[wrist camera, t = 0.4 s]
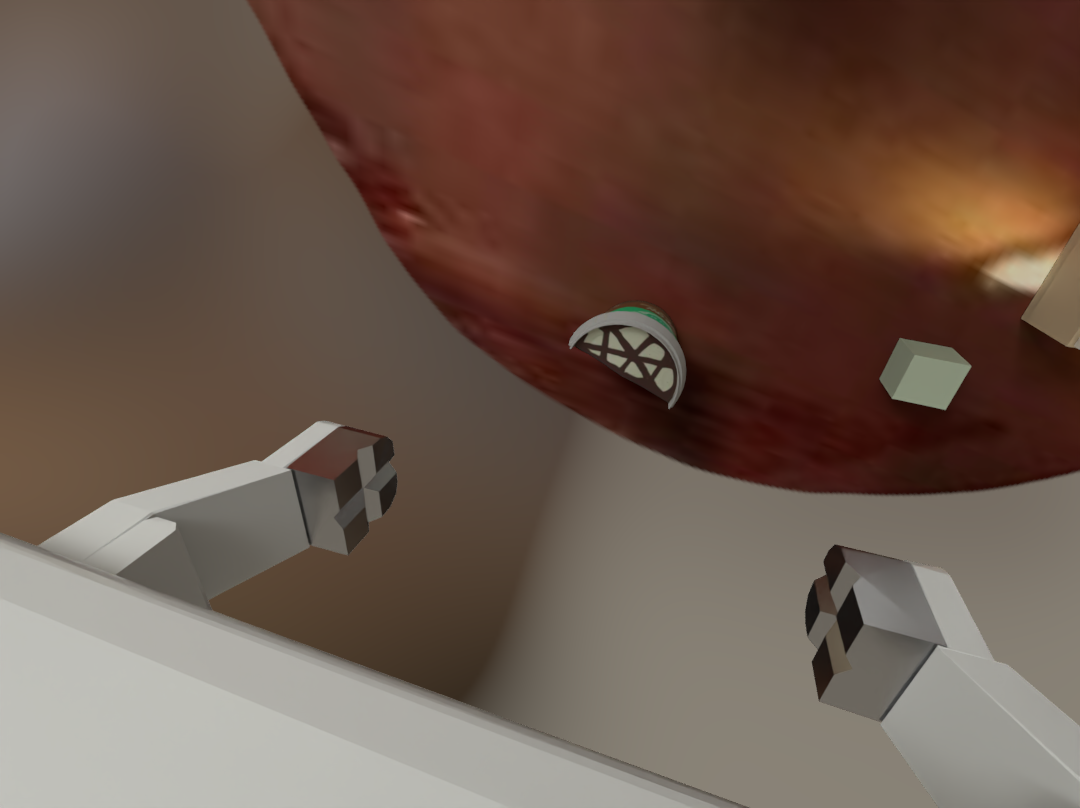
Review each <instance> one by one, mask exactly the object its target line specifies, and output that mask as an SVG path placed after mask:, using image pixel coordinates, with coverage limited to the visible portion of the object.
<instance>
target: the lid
mask: <svg viewBox="0 0 1080 808" xmlns="http://www.w3.org/2000/svg"><path fill="white" fill-rule="evenodd" d="M1074 347H1076V348H1078V349H1079V350H1080V337H1079V339H1078V340H1077V342H1076V343H1075V345H1074Z"/></svg>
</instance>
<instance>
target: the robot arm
mask: <svg viewBox="0 0 1080 808" xmlns="http://www.w3.org/2000/svg"><path fill="white" fill-rule="evenodd" d="M393 456H394V449H393V442H392V440H390V439H389V438H388V437H386V436H382V435H379V434H375V433H371V432H367V431H364V430H360V429H356V428H352V427H349V426H343V425H340V424H336V423H332V422H328V421H320V422H316V423H315V424H314V425H312V426H311V427H310V428H308V429H307V430H305V431H304V432H302V433H301V434H300V435H298V436H297V437H295V438H294V439H293V440H291V441H290V442H289V443H287V444H286V445H284V446H283V447H282V448H280V449H279V450H278V451H276V452H275V453H273V454H272V455H270V456H269V457H268V458H266V459H265V460H263V461H262V462H260V461H256V460H254V461H251V462H247V463H243V464H240V465H236V466H232V467H229V468H225V469H222V470H219V471H215V472H211V473H207V474H204V475H200V476H197V477H193V478H190V479H186V480H182V481H179V482H176V483H172V484H168V485H165V486H161V487H158V488H154V489H150V490H147V491H143V492H140V493H136V494H132V495H129V496H125V497H122V498H118V499H115V500H112V501H110V502H109V503H107V504H105V505H104V506H102V507H100V508H99V509H97V510H95V511H94V512H92V513H91V514H89V515H87V516H86V517H84V518H82V519H81V520H79V521H78V522H76V523H74V524H73V525H71V526H69V527H68V528H66V529H64V530H63V531H61V532H59V533H58V534H56V535H55V536H53V537H51V538H50V539H48V540H46V541H45V542H43V543H42V544H40V545H38V546H35V545H32V544H30V543H27V542H24V541H22V540H19V539H16V538H13V537H11V536H8V535H5V534H3V533H0V808H749V807H746V806H743V805H741V804H738V803H735V802H732V801H729V800H727V799H724V798H721V797H719V796H716V795H713V794H711V793H708V792H705V791H702V790H700V789H697V788H694V787H691V786H689V785H686V784H683V783H680V782H677V781H675V780H672V779H669V778H667V777H664V776H661V775H659V774H656V773H653V772H651V771H648V770H645V769H642V768H640V767H637V766H634V765H631V764H629V763H626V762H623V761H620V760H618V759H615V758H612V757H609V756H606V755H604V754H601V753H599V752H596V751H593V750H590V749H587V748H585V747H582V746H580V745H577V744H574V743H571V742H569V741H566V740H563V739H560V738H558V737H555V736H552V735H549V734H547V733H544V732H541V731H539V730H536V729H533V728H530V727H528V726H525V725H522V724H519V723H517V722H514V721H511V720H509V719H506V718H503V717H500V716H498V715H495V714H492V713H490V712H487V711H484V710H481V709H479V708H476V707H473V706H470V705H468V704H465V703H462V702H459V701H457V700H454V699H451V698H449V697H446V696H443V695H441V694H438V693H435V692H432V691H430V690H427V689H424V688H421V687H419V686H416V685H413V684H411V683H408V682H405V681H402V680H400V679H397V678H394V677H392V676H388V675H386V674H383V673H381V672H378V671H375V670H372V669H370V668H367V667H364V666H362V665H359V664H356V663H353V662H351V661H348V660H345V659H343V658H340V657H337V656H334V655H332V654H329V653H326V652H323V651H321V650H318V649H315V648H313V647H310V646H307V645H304V644H302V643H299V642H296V641H294V640H290V639H288V638H285V637H283V636H280V635H277V634H274V633H272V632H269V631H266V630H264V629H261V628H258V627H255V626H253V625H250V624H247V623H245V622H242V621H239V620H236V619H234V618H231V617H228V616H226V615H223V614H220V613H217V612H215V611H212V608H211V606H210V604H209V601H208V600H209V599H211V598H213V597H215V596H217V595H219V594H221V593H223V592H225V591H226V590H228V589H230V588H232V587H234V586H236V585H238V584H240V583H242V582H244V581H246V580H248V579H250V578H251V577H253V576H255V575H257V574H259V573H261V572H263V571H265V570H267V569H269V568H271V567H272V566H274V565H276V564H278V563H280V562H282V561H284V560H286V559H288V558H290V557H292V556H293V555H295V554H297V553H299V552H301V551H303V550H305V549H307V548H309V545H312V546H316V547H320V548H323V549H327V550H331V551H334V552H337V553H341V554H345V555H349V554H350V553H351V552H352V550H353V549H354V548H355V547H356V546H357V545H358V544H359V542H360V541H361V540H362V539H363V538H364V537H365V536H366V535H367V533H368V532H369V522H370V521H373V520H375V519H378V518H380V517H382V516H383V515H384V514H385V513H386V511H387V510H388V509H389V508H390V506H391V504H392V502H393V499H394V497H395V495H396V489H397V473H396V471H395V470H394V468H393V467H392V466H391V465H390V463H389V461H390V460H391V459H392V457H393ZM824 566H825V571H826V575H825V576H823V577H821V578H818V579H816V580H814V582H813V584H812V587H811V589H810V592H809V594H808V598H807V604H806V609H805V624H806V631H807V636H808V638H809V640H810V641H811V642H812V643H813V644H814V646H815V647H816V648H817V649H818V651H817V653H816V655H815V657H814V659H813V660H812V666H813V671H814V677H815V682H816V687H817V693H818V699H819V702H822V703H826V704H828V705H831V706H834V707H837V708H840V709H843V710H846V711H849V712H852V713H855V714H858V715H861V716H864V717H867V718H870V719H873V720H876V721H879V722H882V723H881V727H882V728H883V730H884V731H885V732H886V734H887V735H888V737H889V738H890V740H891V741H892V742H893V743H894V745H895V747H896V748H897V749H898V751H899V752H900V754H901V755H902V757H903V758H904V759H905V761H906V762H907V764H908V765H909V766H910V768H911V769H912V771H913V772H914V774H915V775H916V776H917V778H918V779H919V780H920V782H921V783H922V785H923V786H924V788H925V789H926V790H927V792H928V793H929V795H930V796H931V798H932V799H933V800H934V802H935V803H936V805H937V806H938V808H1080V726H1079V725H1078V724H1077V723H1076V722H1074V721H1073V720H1072V719H1071V718H1069V717H1068V716H1067V715H1066V714H1065V713H1064V712H1062V711H1061V710H1060V709H1059V708H1058V707H1057V706H1056V705H1054V704H1053V703H1052V702H1051V701H1050V700H1048V699H1047V698H1046V697H1045V696H1044V695H1043V694H1042V693H1040V692H1039V691H1038V690H1037V689H1036V688H1035V687H1033V686H1032V685H1031V684H1030V683H1029V682H1027V681H1026V680H1025V679H1024V678H1023V677H1022V676H1020V675H1019V674H1018V673H1017V672H1016V671H1015V670H1013V669H1012V668H1011V667H1010V666H1009V665H1007V664H1004V663H1000V662H997V661H995V660H994V658H993V656H992V654H991V652H990V651H989V649H988V647H987V645H986V643H985V641H984V639H983V637H982V635H981V633H980V632H979V630H978V628H977V626H976V624H975V622H974V620H973V618H972V616H971V614H970V613H969V611H968V609H967V607H966V605H965V603H964V601H963V599H962V597H961V595H960V594H959V592H958V590H957V588H956V586H955V584H954V582H953V580H952V578H951V576H950V575H949V573H947V572H946V571H945V570H944V569H943V568H940V567H935V566H930V565H926V564H921V563H917V562H912V561H907V560H904V561H903V560H899V559H894V558H890V557H886V556H882V555H877V554H873V553H869V552H865V551H861V550H856V549H852V548H848V547H844V546H839V545H834V546H833V547H832V548H831V549H830V550H829V551H828V553H827V555H826V557H825V559H824Z"/></svg>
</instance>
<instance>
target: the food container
mask: <svg viewBox="0 0 1080 808" xmlns="http://www.w3.org/2000/svg"><path fill="white" fill-rule="evenodd" d="M569 346H571V347H570V349H571V348H572V347H573V346H575V347H577V348H578V349H580V350H581V351H584V352H586V353H587V354H589V355H591V356H592V357H594V358H595V359H597V360H599V361H600V362H602V363H603V364H605V365H606V366H607V367H609V368H610V369H612V370H613V371H615V372H616V373H618V374H619V375H621V376H622V377H624V378H626V379H628V380H630V381H632V382H634V383H636V384H637V385H639V386H641V387H643V388H645V389H646V390H648V391H650V392H651V393H653V394H655V395H656V396H658V397H660V398H661V399H663V400H665V401H666V402H668V409H670V407H673V406H674V404H675V403H676V401H677V400H678V398H679V397H680V395H681V392H682V390H683V388H684V384H685V380H686V362H685V358H684V354H683V351H682V349H681V347H680V345H679V343H678V341H677V332H676V328H675V326H674V324H673V322H672V320H671V318H670V317H669V316H668V315H667V314H666V313H665V311H664V310H662V309H661V308H659V307H658V306H656V305H654V304H652V303H649V302H645V301H627V302H623V303H620V304H618V305H616V306H614V307H612V308H611V309H610V310H608V311H607V312H606V313H604V314H601V315H598V316H596V317H594V318H592V319H590V320H588V321H587V322H585V323H584V324H583V325H581V326H580V327H579V328H578V329H577V330H576V331H575V332H574V334H573V335H572V337H571V338H570V342H569Z"/></svg>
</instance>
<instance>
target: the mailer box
mask: <svg viewBox="0 0 1080 808" xmlns="http://www.w3.org/2000/svg"><path fill="white" fill-rule="evenodd" d="M1021 319H1022V320H1024V321H1026V322H1027V323H1029V324H1031V325H1032V326H1034V327H1035V328H1037V329H1039V330H1040V331H1042V332H1044V333H1045V334H1047V335H1049V336H1050V337H1052V338H1053V339H1055V340H1057V341H1058V342H1060V343H1062V344H1063V345H1065V346H1066V347H1072V348H1076V347H1074V345H1075V343H1076V342H1077V340H1078V339H1079V337H1080V223H1079V225H1078V227H1077V228H1076V230H1075V231H1074V233H1073V235H1072V236H1071V238H1070V240H1069V241H1068V243H1067V244H1066V246H1065V248H1064V249H1063V251H1062V253H1061V254H1060V256H1059V257H1058V259H1057V261H1056V262H1055V264H1054V266H1053V267H1052V269H1051V270H1050V272H1049V274H1048V275H1047V277H1046V278H1045V280H1044V282H1043V283H1042V285H1041V287H1040V288H1039V290H1038V291H1037V293H1036V295H1035V296H1034V298H1033V300H1032V301H1031V303H1030V304H1029V306H1028V308H1027V309H1026V311H1025V313H1024V314H1023V316H1022V317H1021Z"/></svg>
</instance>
